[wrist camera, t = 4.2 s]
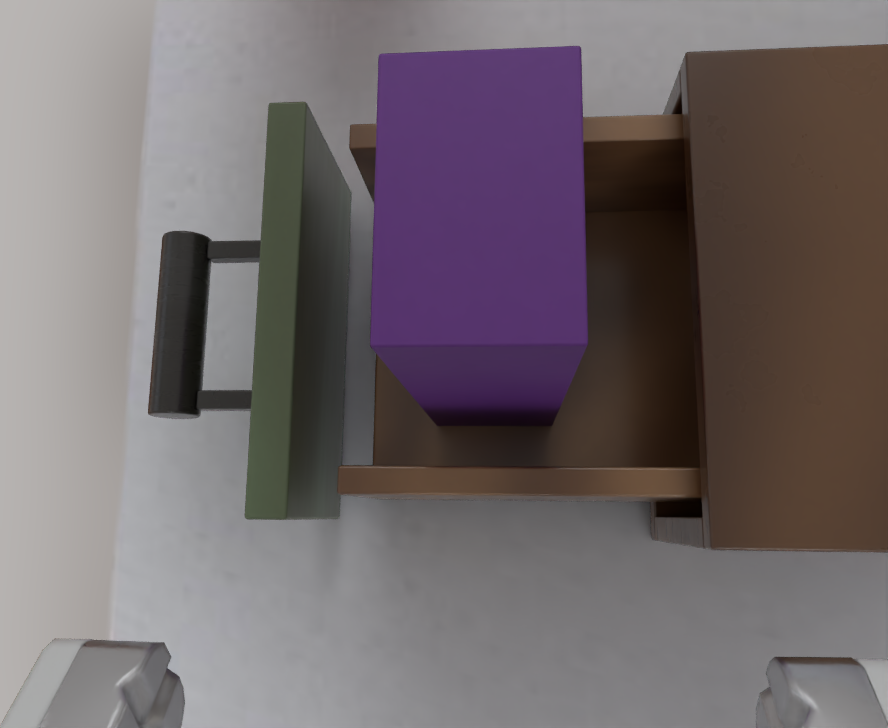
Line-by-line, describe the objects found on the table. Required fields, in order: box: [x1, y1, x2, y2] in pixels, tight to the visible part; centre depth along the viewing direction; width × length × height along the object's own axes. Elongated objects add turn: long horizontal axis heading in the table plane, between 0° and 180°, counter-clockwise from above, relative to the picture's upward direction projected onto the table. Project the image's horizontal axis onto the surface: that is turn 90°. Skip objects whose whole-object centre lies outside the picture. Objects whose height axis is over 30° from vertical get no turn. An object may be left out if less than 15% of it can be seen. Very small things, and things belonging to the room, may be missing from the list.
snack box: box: [370, 46, 588, 426], centre depth 21 cm, size 6×4×13 cm, turn 179°
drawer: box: [148, 102, 702, 520], centre depth 26 cm, size 19×12×7 cm, turn 89°
